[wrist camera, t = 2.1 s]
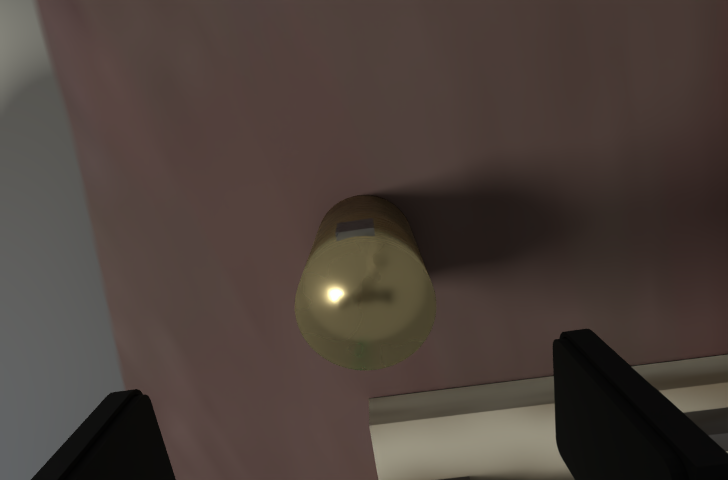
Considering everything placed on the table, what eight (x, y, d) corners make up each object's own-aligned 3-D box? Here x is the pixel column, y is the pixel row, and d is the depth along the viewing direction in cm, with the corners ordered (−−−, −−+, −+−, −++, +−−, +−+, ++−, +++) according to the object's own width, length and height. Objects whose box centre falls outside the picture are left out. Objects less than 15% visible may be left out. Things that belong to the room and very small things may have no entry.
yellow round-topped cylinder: (308, 197, 20) (280, 245, 13) (405, 184, 20) (428, 225, 13) (326, 294, 21) (309, 383, 14) (417, 282, 21) (443, 366, 14)
